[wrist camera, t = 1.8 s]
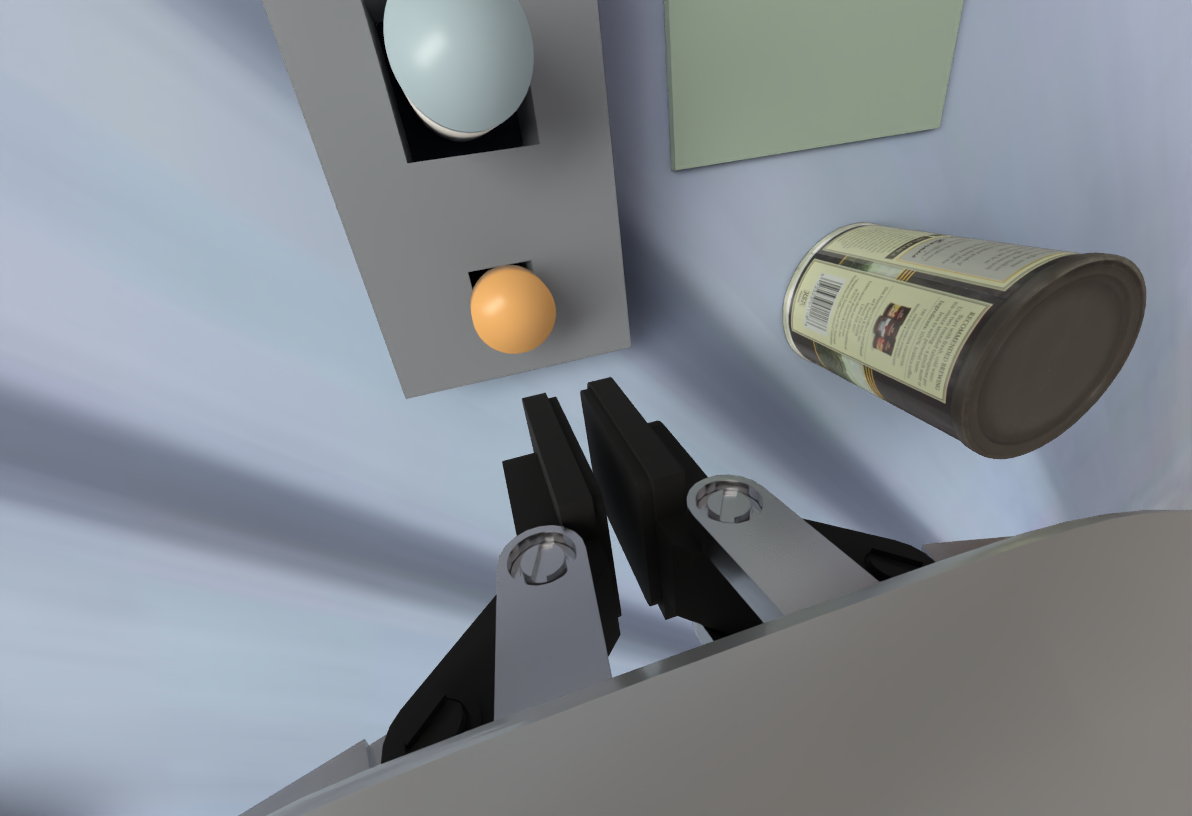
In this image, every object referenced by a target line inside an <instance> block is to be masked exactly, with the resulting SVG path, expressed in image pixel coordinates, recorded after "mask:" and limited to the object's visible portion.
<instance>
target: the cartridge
mask: <svg viewBox="0 0 1192 816" xmlns="http://www.w3.org/2000/svg"><path fill="white" fill-rule="evenodd" d="M383 32H384V42H385V47H386V52H387V56H388V59H389V62H390V65H391V68H392V71H393V73H394V75H395V77H396V79H397V81H398V83H399V84H400V86H401V88H402V90H403V92H404V93H405V95H406V97H407V99H408V100H409V102H410V104H411V106H412V107H413V109H414V111H415V112H416V114H417V116H418V117H419V119H420V120H421V121H422V122H423V123H424V125H425V126H426V127H427V128H429V129H430V130H431V131H432V132H434V133H435V134H437V135H438V136H440V137H442V138H445V139H447V140H451V141H455V142H467V141H472V140H475V139H477V138H479V137H481V136H482V135H484V134H486V133H487V132H489V131H490V130H492V129H493V128H495V127H496V126H498V125H499V124H501V123H503V122H504V121H505V120H507V119H508V118H509V117H510V116H511V115H512V114H513V113H514V112H515V111H516V110H517V109H518V107H519V106H520V104H521V103H522V101H523V99H524V98H525V96H526V94H527V91H528V88H529V86H530V82H531V78H532V73H533V64H534V51H533V41H532V36H531V31H530V27H529V24H528V21H527V18H526V16H525V13H524V11H523V9H522V7H521V5H520V3H519V1H518V0H387V3H386V7H385V13H384V30H383Z"/></svg>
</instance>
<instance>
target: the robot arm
mask: <svg viewBox="0 0 1192 816" xmlns="http://www.w3.org/2000/svg"><path fill="white" fill-rule="evenodd" d="M580 395H581V402H582V408H583V414H584V420H585V427H586V433H587V439H588V445H589V452H590V458H591V464H592V470H593V472H592V470H591V468H590V466H589V464H588V462H587V460H586V458H585V456H584V453H583V451H582V449H581V447H580V445H579V443H578V441H577V439H576V437H575V435H574V433H573V431H572V429H571V426H570V424H569V422H568V420H567V418H566V416H565V414H564V412H563V410H562V408H561V406H560V404H559V402H558V399H557V397H552V398H548V397H547V395H546V393H542V394H538V395H534V396H530V397H526V398H522V402H523V407H524V411H525V415H526V420H527V424H528V429H529V433H530V437H531V442H532V446H533V450H534V453H532V454H528V455H524V456H521V457H517V458H513V459H509V460H505V461H502V463H503V468H504V474H505V479H506V484H507V489H508V494H509V499H510V504H511V509H512V514H513V519H514V524H515V529H516V534H517V536H516V537H515V538H514V539H513V540H511V541H510V542H509V543H508V544H507V545H506V546H505V548H504V549H503V551H502V553H501V554H500V556H499V560H498V565H497V594H496V596H495V597H494V598H493V599H492V600H491V602H490V603H489V604H488V605H487V606H486V608H485V609H484V610H483V611H482V612H481V614H480V615H479V616H478V617H477V618H476V620H475V621H474V622H473V623H472V624H471V626H470V627H469V628H468V629H467V631H466V632H465V633H464V634H463V635H462V637H461V638H460V639H459V640H458V641H457V643H456V644H455V645H454V646H453V647H452V649H451V650H450V651H449V652H448V653H447V655H446V656H445V657H444V658H443V659H442V661H441V662H440V663H439V664H438V665H437V667H436V668H435V669H434V670H433V671H432V673H431V674H430V675H429V676H428V678H427V679H426V680H425V681H424V682H423V684H422V685H421V686H420V687H419V688H418V690H417V691H416V692H415V693H414V694H413V696H412V697H411V698H410V699H409V700H408V702H407V703H406V704H405V705H404V706H403V708H402V709H401V710H400V712H399V713H398V715H397V716H396V718H395V719H394V721H393V722H392V724H391V725H390V727H389V730H388V732H387V735H385V736H384V737H382V738H380V739H379V740H377V741H375V742H374V743H372V744H371V745H368V743H367V742H366V740H365V739H364V740H362V741H360V742H359V743H357V744H355V745H354V746H352V747H351V748H349V749H347V750H346V751H344V752H342V753H341V754H339V755H337V756H336V757H334V758H332V759H331V760H329V761H328V762H326V763H324V764H323V765H321V766H319V767H318V768H316V769H314V770H313V771H311V772H310V773H308V774H306V775H305V776H303V777H301V778H300V779H298V780H296V781H295V782H293V783H291V784H290V785H288V786H287V787H285V788H283V789H282V790H280V791H278V792H277V793H275V794H273V795H272V796H270V797H269V798H267V799H265V800H264V801H262V802H260V803H259V804H257V805H255V806H254V807H252V808H250V809H249V810H247V811H246V812H244V813H242V814H241V815H239V816H1192V510H1140V511H1130V512H1121V513H1111V514H1104V515H1098V516H1093V517H1088V518H1082V519H1077V520H1072V521H1067V522H1063V523H1059V524H1056V525H1052V526H1048V527H1045V528H1041V529H1037V530H1034V531H1030V532H1026V533H1023V534H1019V535H1016V536H1011V537H999V538H988V539H976V540H965V541H953V542H942V543H931V544H923V545H922V548H921V551H920V550H918V549H916V548H914V547H912V546H911V545H908V544H905V543H902V542H899V541H896V540H892V539H888V538H883V537H879V536H875V535H870V534H866V533H862V532H858V531H853V530H849V529H845V528H841V527H836V526H832V525H828V524H824V523H819V522H815V521H811V520H806V519H802V518H801V517H800V516H798V515H797V514H796V513H795V512H793V511H792V510H791V509H790V508H789V507H787V506H786V505H785V504H784V503H782V502H781V501H780V500H779V499H778V498H776V497H775V496H774V495H773V494H771V493H770V492H769V491H768V490H767V489H765V488H764V487H763V486H761V485H760V484H758V483H756V482H755V481H753V480H750V479H747V478H745V477H742V476H735V475H716V476H712V477H707V476H706V474H705V473H704V472H703V471H702V470H701V468H700V467H699V466H698V465H697V464H696V462H695V461H694V460H693V459H692V458H691V456H690V455H689V454H688V453H687V452H686V450H685V449H684V448H683V447H682V446H681V445H680V443H679V442H678V441H677V440H676V439H675V437H674V436H673V435H672V434H671V433H670V431H669V430H668V429H667V428H666V427H665V425H664V424H663V423H662V422H660V421H654V422H650V423H647V422H646V421H645V419H644V418H643V417H642V416H641V414H640V413H639V412H638V410H637V409H636V408H635V407H634V405H633V404H632V403H631V401H630V400H629V399H628V398H627V396H626V395H625V394H624V392H623V391H622V390H621V389H620V387H619V386H618V385H617V384H616V382H615V381H614V380H613V378H611V377H609V378H605V379H601V380H597V381H592V382H588V384H587V389H585V390H581V392H580ZM607 517H608V519H609V521H610V523H611V525H612V528H613V530H614V532H615V534H616V536H617V538H618V540H619V543H620V545H621V547H622V549H623V551H624V553H625V556H626V558H627V560H628V562H629V564H630V566H631V569H632V571H633V573H634V575H635V577H636V579H637V582H638V584H639V586H640V588H641V590H642V592H643V594H644V597H645V599H646V601H647V603H648V604H649V606H653V605H656V604H658V605H659V607H660V610H661V612H662V614H663V616H664V618H665V620H667V619H670V618H673V617H675V616H679V617H682V618H685V619H688V620H690V621H692V625H693V629H694V631H695V633H696V635H697V637H698V639H699V640H700V642H701V643H702V644H703V645H702V646H699V647H696V648H694V649H691V650H688V651H685V652H682V653H680V654H677V655H674V656H671V657H669V658H666V659H663V660H660V661H657V662H655V663H652V664H649V665H646V666H644V667H641V668H638V669H635V670H633V671H630V672H627V673H624V674H622V675H619V676H616V677H614V678H612V674H611V669H610V664H609V659H608V656H609V655H610V653H611V651H612V649H613V647H614V645H615V643H616V642H617V640H618V638H619V636H620V629H619V622H618V617H620V616H621V608H620V601H619V594H618V588H617V581H616V575H615V568H614V561H613V555H612V548H611V541H610V535H609V528H608V522H607Z"/></svg>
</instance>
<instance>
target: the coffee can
mask: <svg viewBox="0 0 1192 816" xmlns="http://www.w3.org/2000/svg"><path fill="white" fill-rule="evenodd" d="M1145 306H1146V286H1145V282H1144V278H1143V275H1142V273H1141V272H1140V270H1139V268H1138V267H1137V266H1136V265H1135V264H1134V263H1133V262H1132V261H1131V260H1129V259H1127V258H1124V257H1122V256H1118V255H1113V254H1104V253H1086V254H1080V253H1073V252H1066V251H1059V250H1052V249H1044V248H1037V247H1030V246H1023V245H1015V244H1008V243H1001V242H993V241H986V240H979V239H972V238H964V237H958V236H949V235H943V234H935V233H929V232H922V231H914V230H907V229H900V228H893V227H885V226H881V225H877V224H874V223H866V222H864V223H855V224H851V225H848V226H845V227H842V228H839V229H837V230H836V231H834V232H832V233H831V234H829V235H827V236H826V237H825V238H823V239H822V240H821V241H819V242H818V243H817V244H816V245H815V246H814V247H813V248H812V249H811V250H810V251H809V252H808V253H807V255H806V256H805V257H804V258H803V260H802V261H801V263H800V264H799V266H798V267H797V268H796V270H795V273H794V275H793V277H792V279H791V281H790V284H789V286H788V289H787V292H786V296H785V300H784V306H783V327H784V331H785V334H786V338H787V340H788V342H789V344H790V346H791V347H792V349H793V350H794V351H795V352H796V353H797V354H798V355H799V356H801V357H802V358H804V359H805V360H807V361H810V362H813V363H815V364H817V365H819V366H821V367H823V368H825V369H827V370H829V371H831V372H832V373H834V374H836V375H839V376H840V377H842V378H844V379H846V380H847V381H849V382H851V383H853V384H855V385H857V386H859V387H861V388H862V389H864V390H866V391H868V392H870V393H872V394H874V395H876V396H878V397H880V398H881V399H883V400H885V401H887V402H889V403H891V404H893V405H894V406H896V407H898V408H900V409H902V410H904V411H905V412H907V413H909V414H911V415H913V416H915V417H917V418H919V419H921V420H923V421H924V422H926V423H928V424H930V425H932V426H934V427H936V428H937V429H939V430H941V431H943V432H945V433H946V434H948V435H950V436H952V437H954V438H956V439H958V440H960V441H961V442H962V443H963V444H964V445H965V446H966V447H968V448H969V449H971V450H972V451H974V452H976V453H978V454H980V455H982V456H984V457H987V458H993V459H1008V458H1014V457H1017V456H1021V455H1024V454H1027V453H1029V452H1031V451H1034V450H1036V449H1038V448H1040V447H1042V446H1044V445H1045V444H1047V443H1049V442H1050V441H1052V440H1053V439H1055V438H1057V437H1058V436H1059V435H1061V434H1062V433H1063V432H1065V431H1066V430H1067V429H1069V428H1070V427H1071V426H1072V425H1073V424H1075V423H1076V422H1077V421H1078V420H1079V419H1080V418H1081V417H1082V416H1083V415H1084V414H1085V413H1086V412H1087V411H1088V410H1089V409H1090V408H1091V407H1092V406H1093V405H1094V404H1095V403H1096V402H1097V401H1098V400H1099V398H1100V397H1101V396H1102V395H1103V393H1104V392H1105V391H1106V390H1107V388H1108V387H1109V386H1110V384H1111V383H1112V382H1113V380H1114V379H1115V377H1116V376H1117V374H1118V373H1119V371H1120V370H1121V368H1122V367H1123V365H1124V363H1125V362H1126V360H1127V358H1128V356H1129V354H1130V352H1131V350H1132V348H1133V346H1134V344H1135V341H1136V339H1137V336H1138V333H1139V331H1140V328H1141V325H1142V321H1143V317H1144V311H1145Z"/></svg>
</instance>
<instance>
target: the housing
mask: <svg viewBox="0 0 1192 816" xmlns="http://www.w3.org/2000/svg"><path fill="white" fill-rule="evenodd" d="M518 1H519V3H520V5H521V7H522V9H523V11H524V13H525V16H526V18H527V21H528V24H529V27H530V31H531V36H532V41H533V51H534V64H533V73H532V78H531V82H530V86H529V88H528V91H527V94H526V96H525V98H524V99H523V101H522V103H521V104H520V106H519V107H518V109H517V113H518V119H519V124H520V130H521V136H522V141H523V147H518V148H511V149H504V150H497V151H490V152H483V153H476V154H469V155H462V156H455V157H448V158H441V159H434V160H427V161H420V162H413V159H412V156H411V152H410V148H409V145H408V141H407V138H406V134H405V130H404V127H403V123H402V120H401V116H400V112H399V109H398V105H397V102H396V98H395V94H394V91H393V87H392V83H391V80H390V76H389V73H388V69H387V65H386V62H385V58H384V55H383V51H382V47H381V44H380V40H379V37H378V33H377V29H376V26H375V22H384V13H385V7H386V3H387V0H262V2H263V5H264V8H265V11H266V13H267V16H268V19H269V22H270V24H271V27H272V30H273V33H274V36H275V38H276V41H277V44H278V47H279V49H280V52H281V55H282V58H283V60H284V63H285V66H286V69H287V72H288V74H289V77H290V80H291V83H292V85H293V88H294V91H295V94H296V96H297V99H298V102H299V105H300V108H301V110H302V113H303V116H304V119H305V121H306V124H307V127H308V130H309V132H310V135H311V138H312V141H313V143H314V146H315V149H316V152H317V155H318V157H319V160H320V163H321V166H322V168H323V171H324V174H325V177H326V179H327V182H328V185H329V188H330V191H331V193H332V196H333V199H334V202H335V204H336V207H337V210H338V213H339V215H340V218H341V221H342V224H343V226H344V229H345V232H346V235H347V238H348V240H349V243H350V246H351V249H352V251H353V254H354V257H355V260H356V262H357V265H358V268H359V271H360V274H361V276H362V279H363V282H364V285H365V287H366V290H367V293H368V296H369V298H370V301H371V304H372V307H373V309H374V312H375V315H376V318H377V321H378V323H379V326H380V329H381V332H382V334H383V337H384V340H385V343H386V345H387V348H388V351H389V354H390V357H391V359H392V362H393V365H394V368H395V370H396V373H397V376H398V379H399V381H400V384H401V387H402V390H403V392H404V395H405V398H406V399H408V398H412V397H417V396H421V395H425V394H430V393H434V392H438V391H443V390H447V389H452V388H456V387H460V386H465V385H469V384H473V383H478V382H482V381H486V380H491V379H495V378H499V377H504V376H508V375H512V374H517V373H521V372H526V371H530V370H534V369H539V368H543V367H547V366H552V365H556V364H560V363H565V362H569V361H573V360H578V359H582V358H586V357H591V356H595V355H600V354H604V353H608V352H613V351H617V350H621V349H626V348H630V347H631V342H630V331H629V321H628V311H627V300H626V290H625V280H624V269H623V259H622V249H621V238H620V228H619V218H618V207H617V197H616V187H615V176H614V166H613V156H612V146H611V135H610V125H609V115H608V104H607V94H606V84H605V73H604V63H603V53H602V42H601V32H600V22H599V11H598V1H597V0H518ZM519 262H521V265H522V267H524V268H526V269H528V270H530V271H531V272H533V273H534V274H535V275H537V276H538V277H539V278H540V279H541V281H542V282H543V283H544V284H545V286H546V287H547V288H548V289H549V291H550V293H551V294H552V296H553V299H554V302H555V307H556V318H555V323H554V327H553V329H552V331H551V333H550V334H549V336H548V337H547V339H546V340H545V341H544V342H543V343H542V344H540V345H539V346H538V347H536V348H534V349H533V350H530V351H528V352H524V353H519V354H509V353H503V352H500V351H497V350H495V349H493V348H491V347H490V346H488V345H487V344H486V343H485V342H484V341H483V340H482V339H481V338H480V337H479V335H478V334H477V332H476V330H475V327H474V324H473V320H472V315H471V310H470V297H471V293H472V290H473V288H472V284H471V280H470V276H469V272H471V271H477V270H482V269H487V268H493V267H498V266H503V265H509V264H514V263H519Z"/></svg>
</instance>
